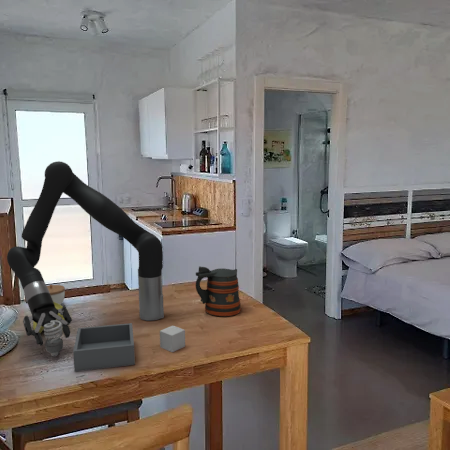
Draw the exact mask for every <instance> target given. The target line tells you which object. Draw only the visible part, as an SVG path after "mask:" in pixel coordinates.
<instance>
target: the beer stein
mask: <svg viewBox="0 0 450 450" xmlns="http://www.w3.org/2000/svg"><path fill="white" fill-rule="evenodd" d="M195 276H196V277H197V278H196V281H195V290H196V293H197V294H198V297H200V302H201V303H202V304H203V305H204V311H205V312H206V314H209V315H211V316H215V317H232V316H236V315H237V314H239V313H240V312H241V310H242V309H241V299H240V293H239V288H240V287H239V286H240V285H239V278H238V269H237V268H235V269H234V268H233V269H229V268H216V269H212V270H210V269H209V268H208V267H205V266H198V271H197V272H195ZM206 278H207V280H206V281H207V282H206V289H203V288H202V287H201V281H202V280H203V279H206Z"/></svg>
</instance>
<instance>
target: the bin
mask: <svg viewBox="0 0 450 450" xmlns="http://www.w3.org/2000/svg"><path fill="white" fill-rule="evenodd" d="M133 331H134V330H133V322H130V323H119V324H108V325H107V324H106V325H97V326H86V327H78V328H77V330H76V336H75V341H74V345H73V351H72V354H73V355H72V356H73V369H74V370H73V372H82V371H90V370H98V369H99V370H101V369H109V368H116V367H117V368H118V367H125V366H134V365H136V361H135V360H136V359H135V341H134V338H135V337H134V332H133Z"/></svg>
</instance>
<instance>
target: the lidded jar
mask: <svg viewBox="0 0 450 450" xmlns="http://www.w3.org/2000/svg"><path fill="white" fill-rule="evenodd" d="M46 286H47V287H48V290H49V292H50V295H51V297H52V300H53V302H55V303H58V304H60V305H61V306H62V304H63V302H64V300H65V295H66V294H65V293H66V292H65V291H66V290H65V289H66V288H65V286H63V285H60V284H48V285H46Z"/></svg>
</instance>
